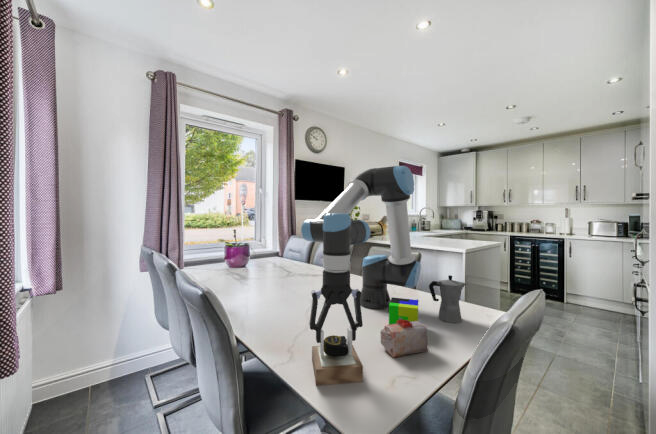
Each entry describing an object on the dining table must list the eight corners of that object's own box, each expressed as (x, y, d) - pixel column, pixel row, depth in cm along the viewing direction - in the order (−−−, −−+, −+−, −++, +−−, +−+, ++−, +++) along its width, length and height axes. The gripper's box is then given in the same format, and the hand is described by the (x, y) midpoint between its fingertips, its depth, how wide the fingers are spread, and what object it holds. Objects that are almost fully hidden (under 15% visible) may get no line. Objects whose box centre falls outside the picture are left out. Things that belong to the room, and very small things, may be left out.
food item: (392, 361, 79) (392, 327, 79) (378, 348, 86) (378, 317, 86) (430, 353, 83) (430, 321, 83) (414, 341, 91) (414, 312, 91)
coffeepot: (459, 314, 116) (460, 273, 116) (471, 323, 107) (472, 278, 106) (424, 314, 115) (424, 273, 115) (433, 323, 106) (434, 278, 106)
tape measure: (348, 360, 70) (348, 346, 70) (322, 359, 71) (322, 345, 70) (346, 347, 77) (347, 334, 77) (323, 347, 77) (323, 334, 77)
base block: (351, 357, 81) (352, 343, 81) (362, 381, 69) (362, 365, 69) (312, 359, 79) (312, 345, 79) (316, 385, 67) (316, 368, 67)
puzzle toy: (418, 325, 104) (418, 300, 104) (417, 336, 95) (418, 308, 94) (391, 322, 107) (391, 297, 107) (388, 332, 98) (389, 305, 98)
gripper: (367, 266, 79) (367, 344, 79) (299, 267, 76) (298, 348, 76) (376, 271, 71) (375, 357, 72) (300, 273, 68) (299, 362, 69)
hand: (335, 352), depth 74 cm, fingers closed on tape measure, 7 cm apart
